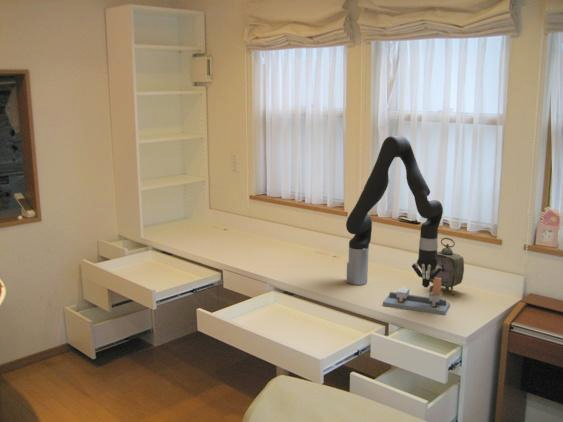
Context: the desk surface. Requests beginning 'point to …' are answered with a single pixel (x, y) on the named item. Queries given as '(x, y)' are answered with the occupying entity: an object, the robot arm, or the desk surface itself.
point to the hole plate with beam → (415, 302)
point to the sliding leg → (436, 291)
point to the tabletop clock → (449, 267)
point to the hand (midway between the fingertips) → (425, 286)
